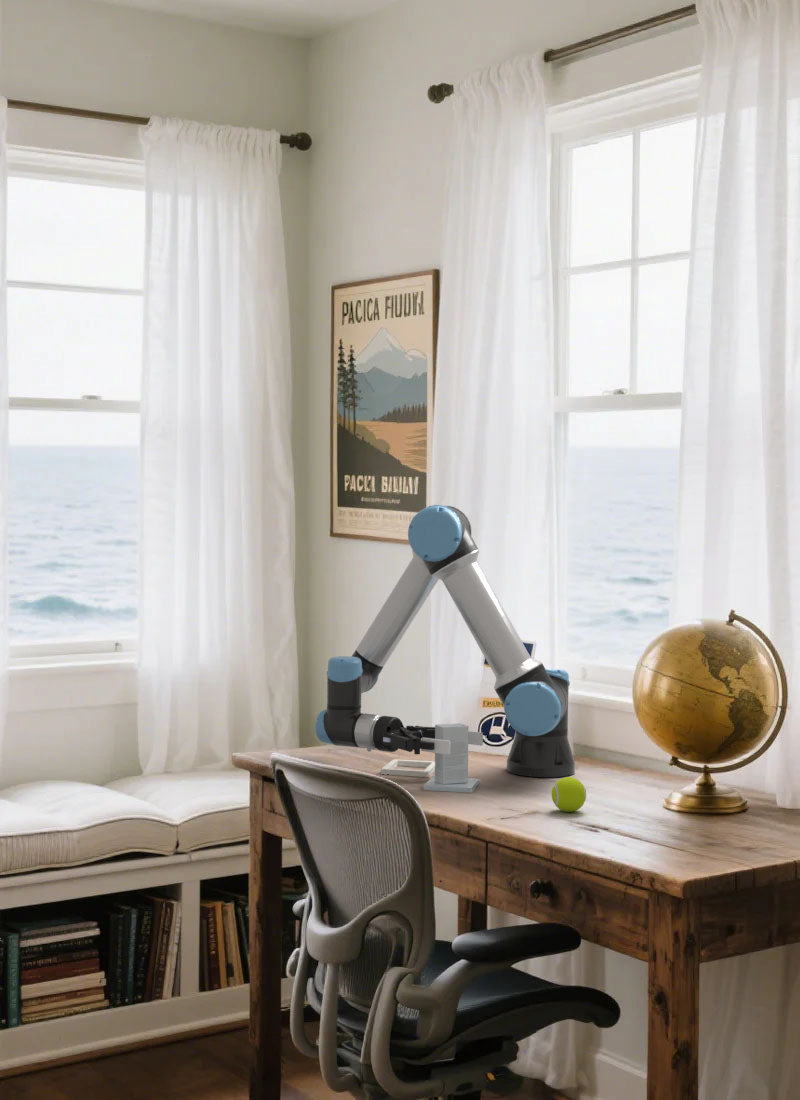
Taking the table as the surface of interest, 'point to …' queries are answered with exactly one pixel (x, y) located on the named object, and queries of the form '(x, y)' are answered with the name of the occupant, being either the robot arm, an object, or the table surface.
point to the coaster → (452, 786)
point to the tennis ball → (568, 794)
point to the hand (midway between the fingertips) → (466, 743)
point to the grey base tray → (405, 772)
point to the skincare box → (452, 754)
